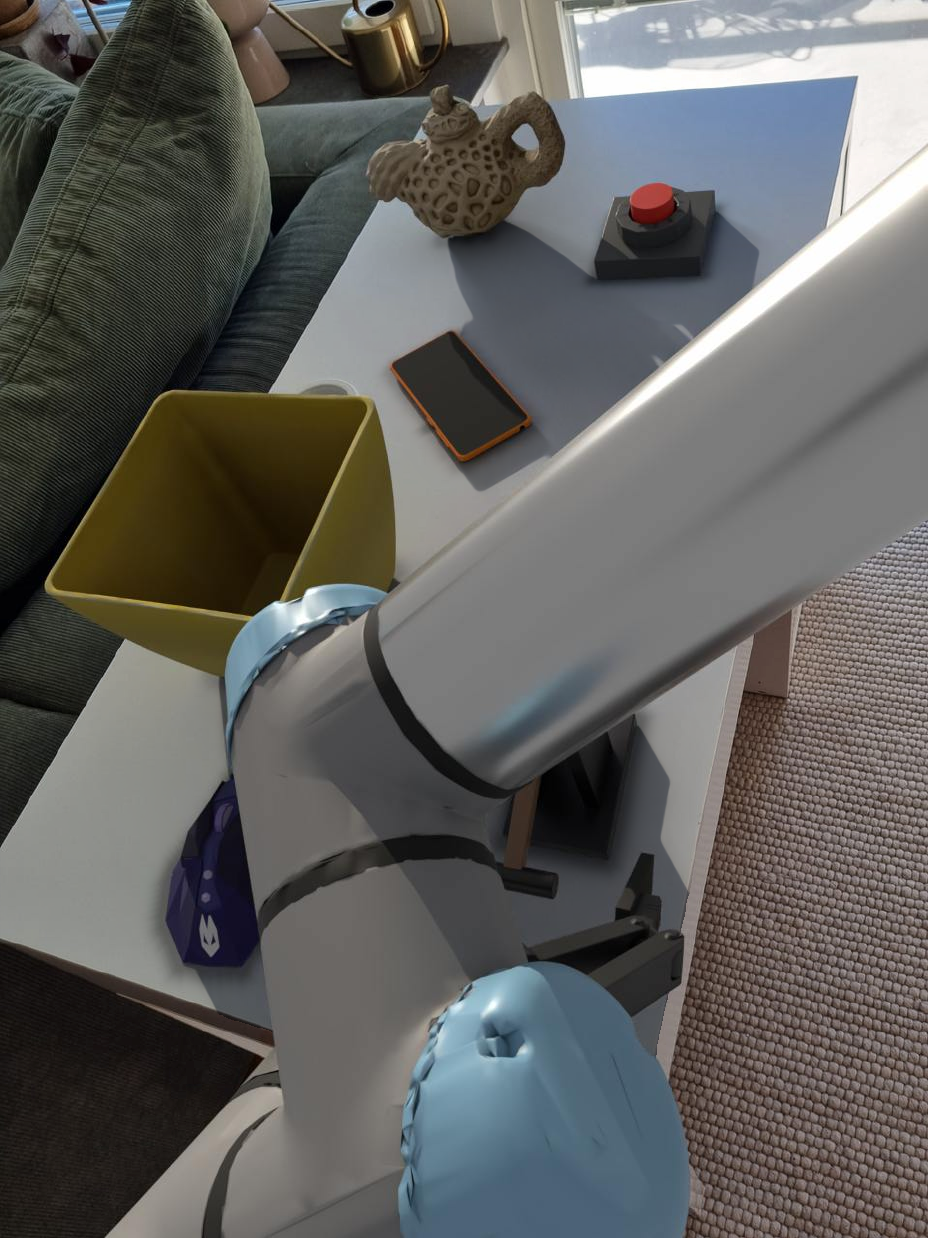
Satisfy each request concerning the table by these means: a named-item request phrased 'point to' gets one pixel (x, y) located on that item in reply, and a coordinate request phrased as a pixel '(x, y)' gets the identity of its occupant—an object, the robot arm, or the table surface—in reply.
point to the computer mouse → (214, 888)
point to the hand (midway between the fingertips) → (533, 853)
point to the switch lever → (525, 850)
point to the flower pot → (230, 518)
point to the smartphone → (459, 395)
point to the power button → (652, 203)
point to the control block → (656, 239)
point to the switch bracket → (583, 796)
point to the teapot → (468, 163)
